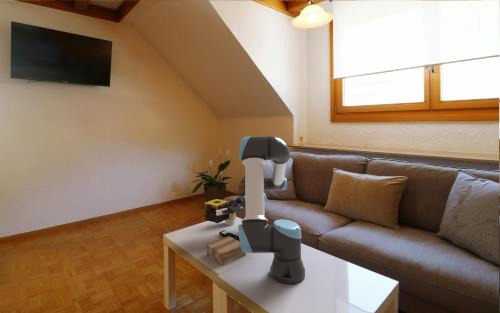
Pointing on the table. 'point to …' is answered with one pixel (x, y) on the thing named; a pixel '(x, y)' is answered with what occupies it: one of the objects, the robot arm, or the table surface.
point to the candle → (211, 209)
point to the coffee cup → (231, 218)
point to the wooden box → (225, 250)
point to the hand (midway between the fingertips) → (211, 210)
